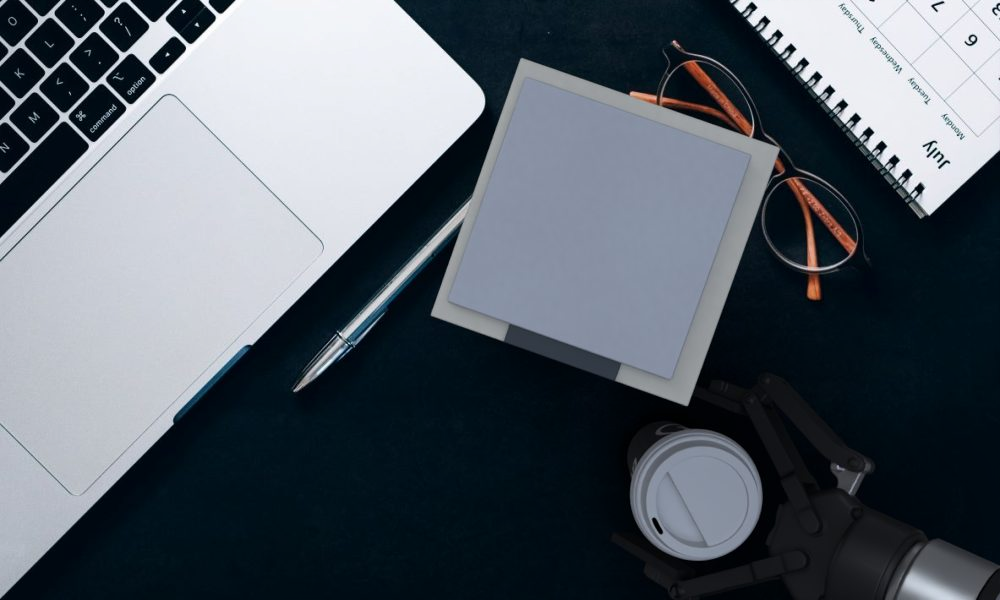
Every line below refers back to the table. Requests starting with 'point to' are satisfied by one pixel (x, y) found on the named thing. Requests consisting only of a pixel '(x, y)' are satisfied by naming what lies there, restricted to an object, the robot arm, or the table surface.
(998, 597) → the robot arm
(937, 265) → the table surface
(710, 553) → the coffee cup
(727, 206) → the scale
